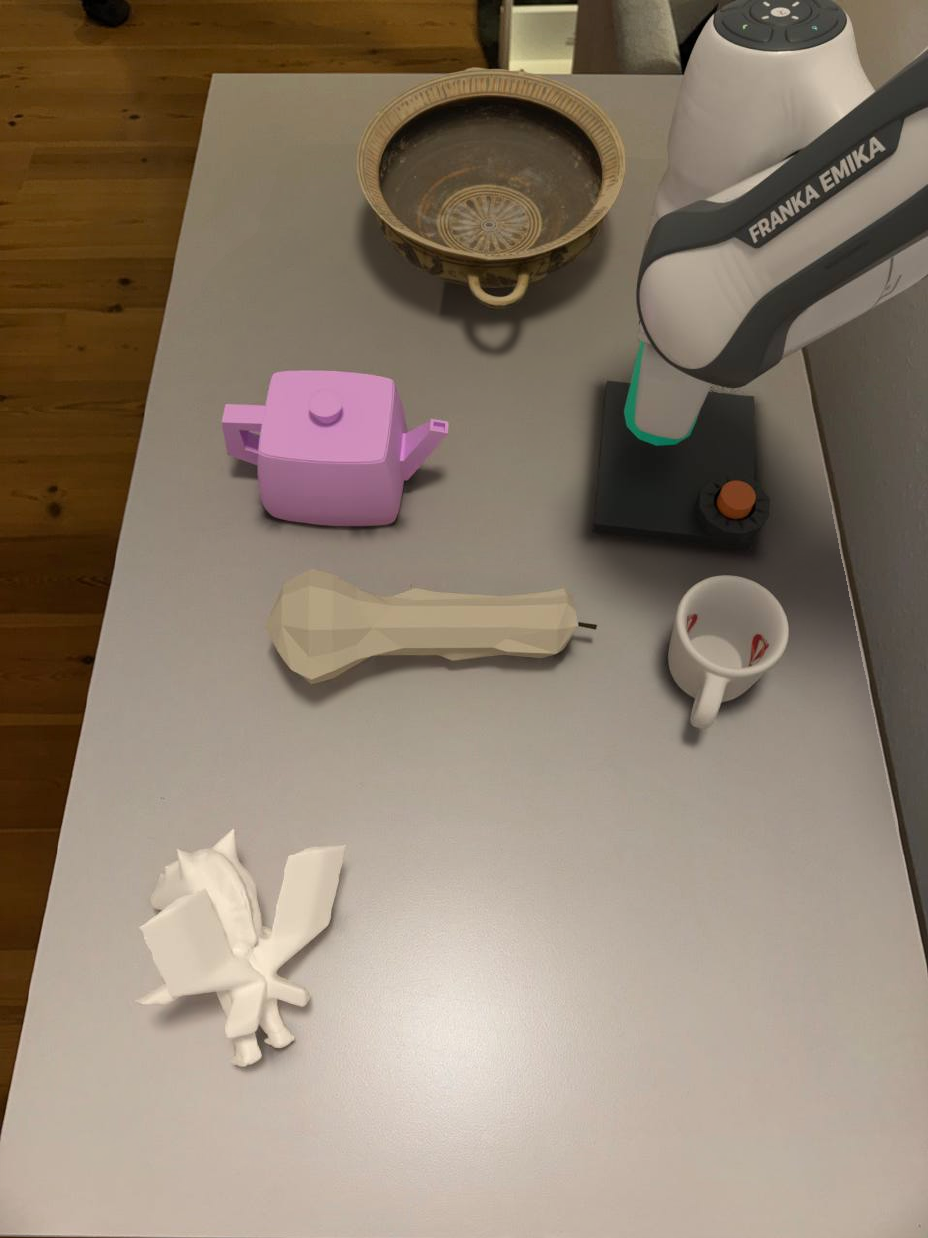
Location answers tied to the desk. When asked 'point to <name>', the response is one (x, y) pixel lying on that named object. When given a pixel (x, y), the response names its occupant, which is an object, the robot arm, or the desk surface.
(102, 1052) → the desk surface
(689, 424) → the robot arm
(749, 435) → the scale
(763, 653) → the cup
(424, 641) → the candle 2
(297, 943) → the figurine
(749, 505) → the button
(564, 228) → the ceramic bowl
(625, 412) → the candle
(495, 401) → the desk surface
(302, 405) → the teapot
